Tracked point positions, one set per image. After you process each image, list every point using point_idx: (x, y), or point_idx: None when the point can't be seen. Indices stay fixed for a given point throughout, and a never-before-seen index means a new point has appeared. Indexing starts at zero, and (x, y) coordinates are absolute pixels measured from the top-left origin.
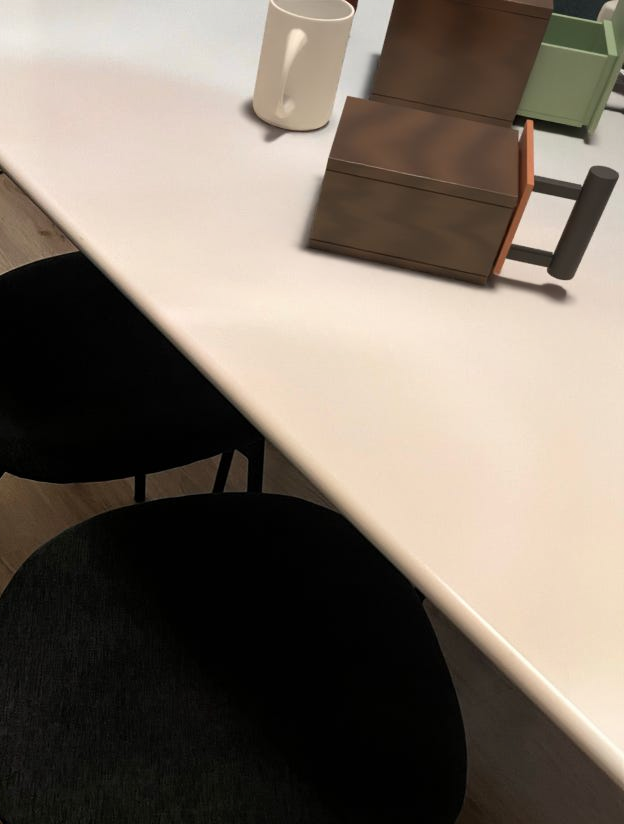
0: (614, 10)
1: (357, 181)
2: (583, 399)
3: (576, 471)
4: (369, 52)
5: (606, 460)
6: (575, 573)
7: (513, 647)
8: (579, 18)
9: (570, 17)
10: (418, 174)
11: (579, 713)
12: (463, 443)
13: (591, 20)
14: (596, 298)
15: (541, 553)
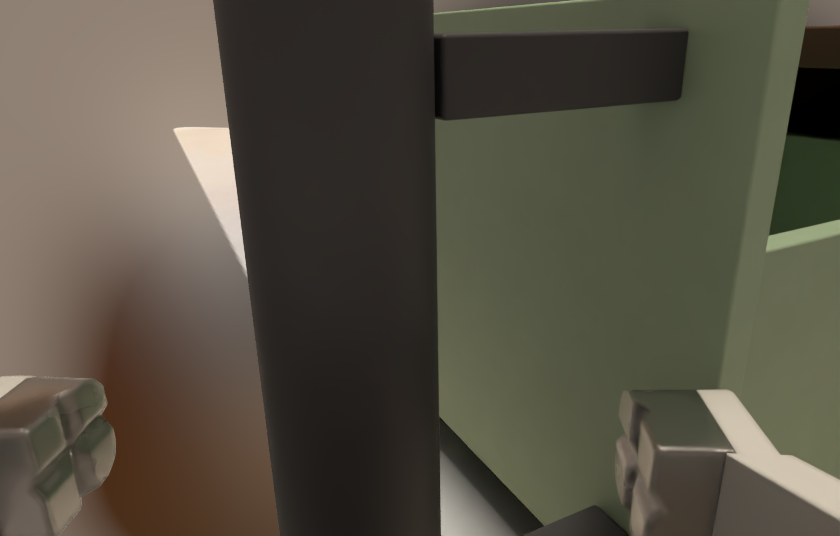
0: (765, 223)
1: None
2: (213, 162)
3: (207, 148)
4: None
5: (190, 153)
6: (197, 137)
7: (216, 128)
8: (814, 231)
9: (838, 223)
10: None
11: (186, 127)
12: None
13: (775, 246)
14: (226, 195)
15: (215, 136)
